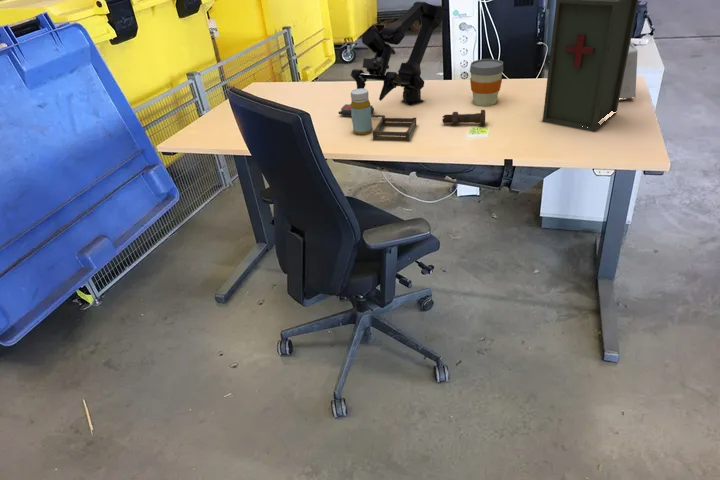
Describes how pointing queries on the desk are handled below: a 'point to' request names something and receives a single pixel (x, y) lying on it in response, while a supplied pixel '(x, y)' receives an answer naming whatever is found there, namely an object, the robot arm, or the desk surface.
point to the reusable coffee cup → (486, 81)
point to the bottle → (361, 111)
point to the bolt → (465, 118)
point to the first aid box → (587, 61)
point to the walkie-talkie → (347, 112)
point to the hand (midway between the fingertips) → (369, 99)
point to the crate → (380, 134)
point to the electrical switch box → (630, 74)
